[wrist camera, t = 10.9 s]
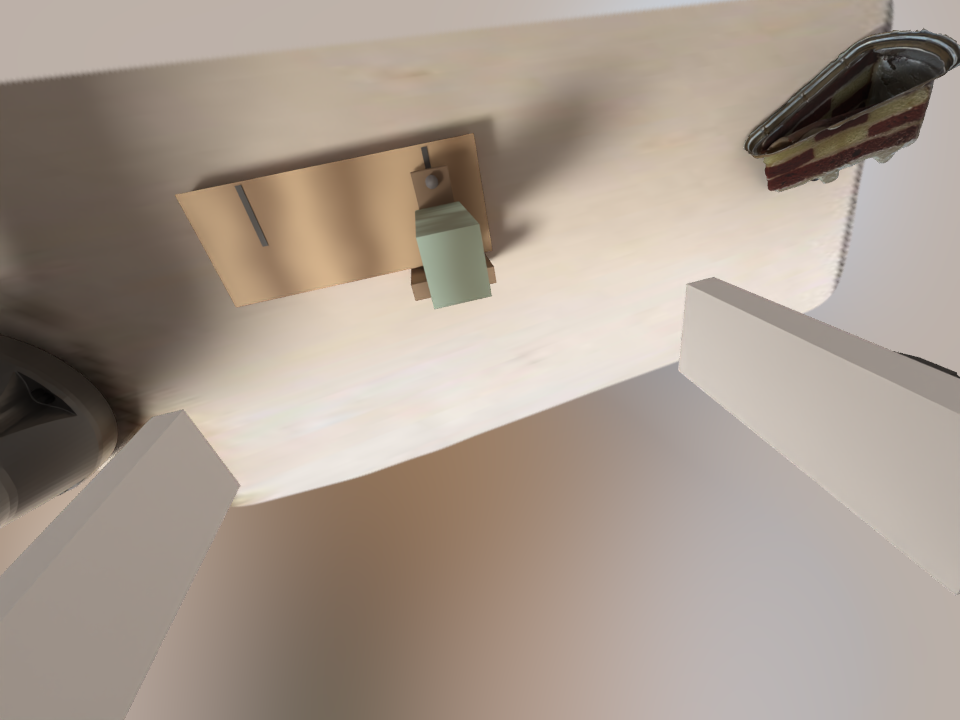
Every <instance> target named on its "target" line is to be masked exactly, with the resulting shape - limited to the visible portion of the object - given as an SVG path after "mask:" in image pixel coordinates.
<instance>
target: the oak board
mask: <svg viewBox="0 0 960 720" xmlns="http://www.w3.org/2000/svg"><path fill="white" fill-rule="evenodd" d="M442 165H446V166H447V167H448V172H449V177H450V182H451V188H452V193H453V198H454V202H458V201H459V202H460V203H461V204H462V205H463V206H464V208H465V209H466V210H467V211H468V212H469V213H470V214H471V215H472V216H473V217H474V219H475V220H476V221H477V222H478V223H479V225H480V231H481V236H482V242H483V248H484V252H488V251H492V245H491V239H490V232H489V226H488V220H487V214H486V207H485V201H484V195H483V189H482V182H481V176H480V170H479V164H478V158H477V151H476V145H475V139H474V133H471V134H467V135H462V136H457V137H452V138H447V139H442V140H438V141H433V142H428V143H423V144H418V145H413V146H409V147H404V148H399V149H394V150H389V151H384V152H380V153H375V154H370V155H365V156H360V157H355V158H351V159H346V160H341V161H336V162H331V163H326V164H322V165H317V166H312V167H307V168H302V169H297V170H293V171H288V172H283V173H278V174H273V175H268V176H264V177H259V178H254V179H249V180H244V181H240V182H235V183H230V184H225V185H220V186H215V187H211V188H206V189H201V190H196V191H191V192H186V193H182V194H177V195H175V196H176V198H177V200H178V202H179V204H180V205H181V207H182V209H183V211H184V213H185V215H186V216H187V218H188V220H189V222H190V224H191V226H192V227H193V229H194V231H195V233H196V235H197V237H198V238H199V240H200V242H201V244H202V246H203V248H204V249H205V251H206V253H207V255H208V257H209V259H210V260H211V262H212V264H213V266H214V268H215V270H216V271H217V273H218V275H219V277H220V279H221V281H222V282H223V284H224V286H225V288H226V290H227V292H228V293H229V295H230V297H231V299H232V301H233V303H234V304H235V306H236V307H241V306H245V305H250V304H254V303H259V302H263V301H268V300H272V299H277V298H281V297H286V296H290V295H295V294H299V293H304V292H308V291H313V290H317V289H322V288H326V287H331V286H335V285H340V284H344V283H349V282H353V281H358V280H362V279H367V278H371V277H376V276H380V275H384V274H389V273H393V272H398V271H402V270H407V269H411V268H416V267H420V266H423V263H422V259H421V255H420V251H419V247H418V244H417V240H416V225H415V211H416V210H419V206H418V202H417V198H416V194H415V190H414V186H413V182H412V178H411V174H410V173H411V172H413V171H418V170H423V169H428V168H432V167H437V166H442Z"/></svg>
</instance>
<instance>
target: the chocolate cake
mask: <svg viewBox="0 0 960 720" xmlns="http://www.w3.org/2000/svg"><path fill="white" fill-rule="evenodd" d="M956 42H957V41H955V40H953V39H952V38H950V37H948V36H947V35H942V34H939V35H937V34H934V33H932V32H929V31H927V30H925V29H922V31H918V30H916V31H915V32H912V31H910V30H909V31H897V30H893V31H891V32H885V33H882V34H880V33H879V34H874V35H870V36H868V38H866V39H862V41H858V42H857V43H855V44H854V45H853V46H852V47H850V48H849V49H848V50H847V51H846V52H844V53H843V54H842V53H841V54H840V55H839V56H838V57H839V59H837V61H835V62H834V63H831V64H830V65H829V66H828V67H827V68H826V69H825V70H823V71H822V72H821V73H820V74H819V75H818V76H817V77H816V78H815V79H814V80H812V81H811V83H810V84H808V85H806V86H805V87H804V88H803V89H802V90H801V91H800V92H798V93H797V94H796V96H795V97H794V96H793V97H792V98H791V99H790V100H789V101H788V103H787V104H786V105H785V106H784V107H783V108H781V109H780V111H777V113H775V114H774V115H773V116H771V117H770V119H769V120H768V121H766V122H765V123H764V124H762V125H761V126H760V127H759V128H757V130H755V131H754V132H752V133H751V134H750V135H749V136H748V137H749V138H748V139H747V140H745V144H744V146H743V147H744V148H743V149H745V150H746V151H748V153H749V154H751V155H752V156H753V157H755V158H764V161H763V162H764V163H765V164H766V168H765V174H766V176H767V181H768V189H769V190H770V191H777V192H781V191H784V190H787V189H791V188H794V187H797V186H800V185H803V184H805V183H807V182H809V181H816V180H818V179H820V180H821V181H822V182H823V183H824V184H825V183H829V182H832V181H834V180H835V179H837V178H838V175H839V170H841V169H844V168H846V167H850V166H853V165H855V164H857V163H859V162H861V161H863V160H865V159H868V158H874V159H875V160H877V162H878V163H885V162H887V161H888V160H889V159H890V158H892V156H893V155H894V154H895V152H897V151H898V150H900V149H901V148H904V147H907V146H909V145H911V144H913V143H914V142H915V141H916V140H917V138H918V136H919V132H920V128H921V126H922V123H923V120H924V116H925V112H926V109H927V107H928V103H929V99H930V95H931V92H932V88H933V82H934V79H936V78H939V77H941V76H943V75H945V74H946V73H947V72H948V71H950V70H952V69H953V68H955V67H957V66H959V65H960V45H958V44H957V43H956Z"/></svg>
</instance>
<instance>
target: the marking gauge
mask: <svg viewBox="0 0 960 720" xmlns="http://www.w3.org/2000/svg"><path fill="white" fill-rule="evenodd" d="M410 174H411V178H412V182H413V186H414V190H415V194H416V198H417V202H418V206H419V210H416V211H415V225H416V240H417V244H418V247H419V251H420V255H421V259H422V263H423V266H420V267H416V268H411V286H412V290H413V293H414V297H415V300H416V301H418V300H422V299H426V298H432V302H433V305H434V309H438V308H442V307H447V306H451V305H455V304H460V303H464V302H469V301H473V300H477V299H482V298H486V297H490V296H492V295H491V289H490V284H493V283H496V277H495V271H494V266H493V265H492V263H491V262H490V260H489V259H488V258H487V256H486V255H485V253H484V248H483V242H482V236H481V231H480V225H479V223H478V222H477V221H476V220H475V219H474V217H473V216H472V215H471V214H470V213H469V212H468V211H467V210H466V209H465V208H464V206H463V205H462V204H461V203H460V202H459V201H458V202H454V198H453V193H452V188H451V182H450V177H449V172H448V167H447V166H446V165H442V166H437V167H432V168H428V169H423V170H418V171H413V172H411V173H410Z"/></svg>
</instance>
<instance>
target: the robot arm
mask: <svg viewBox="0 0 960 720" xmlns="http://www.w3.org/2000/svg"><path fill="white" fill-rule="evenodd" d="M678 371H679V372H681V373H682V374H683V375H684V376H686V377H687V378H688V379H689V380H690V381H692V382H693V383H694V384H695V385H697V386H698V387H699V388H700V389H701V390H703V391H704V392H705V393H706V394H708V395H709V396H710V397H711V398H713V399H714V400H715V401H716V402H718V403H719V404H720V405H721V406H723V407H724V408H725V409H726V410H727V411H729V412H730V413H731V414H732V415H734V416H735V417H736V418H737V419H738V420H740V421H741V422H742V423H743V424H745V425H746V426H747V427H748V428H750V429H751V430H752V431H753V432H755V433H756V434H757V435H758V436H759V437H761V438H762V439H763V440H764V441H766V442H767V443H768V444H769V445H771V446H772V447H773V448H774V449H775V450H777V451H778V452H779V453H780V454H782V455H783V456H784V457H785V458H787V459H788V460H789V461H790V462H791V463H793V464H794V465H795V466H796V467H798V468H799V469H800V470H801V471H803V472H804V473H805V474H806V475H807V476H809V477H810V478H811V479H812V480H814V481H815V482H816V483H817V484H819V485H820V486H821V487H822V488H823V489H825V490H826V491H827V492H829V493H830V494H831V495H832V496H833V497H835V498H836V499H837V500H838V501H839V502H841V503H842V504H843V505H844V506H846V507H847V508H848V509H849V510H851V511H852V512H853V513H854V514H856V515H857V516H858V517H859V518H860V519H862V520H863V521H864V522H865V523H867V524H868V525H869V526H870V527H871V528H873V529H874V530H875V531H876V532H878V533H879V534H880V535H881V536H883V537H884V538H885V539H886V540H888V541H889V542H890V543H891V544H893V545H894V546H895V547H896V548H897V549H899V550H900V551H901V552H902V553H904V554H905V555H906V556H907V557H908V558H910V559H911V560H912V561H913V562H915V563H916V564H917V565H918V566H920V567H921V568H922V569H923V570H924V571H926V572H927V573H928V574H929V575H931V576H932V577H933V578H934V579H936V580H937V581H938V582H939V583H941V584H942V585H943V586H944V587H946V588H947V589H948V590H949V591H950V592H952V593H953V594H954V595H958V594H960V377H959V376H958V375H957V372H954V371H952V370H949V369H946V368H944V367H942V366H939V365H937V364H934V363H932V362H929V361H926V360H924V359H922V358H919V357H915V356H911V355H907V354H903V353H898V352H895V351H891V350H889V349H887V348H884V347H882V346H879V345H877V344H874V343H872V342H869V341H867V340H864V339H862V338H859V337H858V336H855V335H852V334H850V333H848V332H845V331H843V330H841V329H838V328H836V327H833V326H831V325H828V324H826V323H824V322H821V321H819V320H816V319H814V318H812V317H809V316H807V315H804V314H802V313H799V312H797V311H795V310H792V309H790V308H787V307H785V306H783V305H780V304H778V303H775V302H773V301H770V300H768V299H766V298H763V297H761V296H758V295H756V294H753V293H751V292H749V291H746V290H744V289H741V288H739V287H737V286H734V285H732V284H729V283H727V282H724V281H722V280H720V279H717V278H715V277H712V278H708V279H704V280H700V281H696V282H692V283H688V284H687V285H686V296H685V306H684V317H683V327H682V337H681V348H680V358H679V369H678ZM117 437H118V429H117V423H116V419H115V416H114V414H113V411H112V409H111V407H110V406H109V404H108V402H107V401H106V399H105V398H104V397H103V395H102V394H101V393H100V392H99V390H98V389H97V388H96V387H95V386H94V385H93V384H92V383H91V382H90V381H89V380H88V379H86V378H85V377H84V376H83V375H82V374H80V373H79V372H78V371H77V370H75V369H74V368H72V367H71V366H70V365H68V364H66V363H65V362H63V361H62V360H60V359H58V358H56V357H55V356H53V355H51V354H49V353H47V352H45V351H43V350H41V349H39V348H36V347H34V346H32V345H29V344H27V343H24V342H21V341H18V340H16V339H12V338H9V337H6V336H2V335H0V528H2V527H4V526H5V525H7V524H9V523H11V522H12V521H14V520H16V519H18V518H20V517H21V516H23V515H25V514H26V513H28V512H30V511H32V510H34V509H36V508H37V507H39V506H41V505H42V504H44V503H46V502H48V501H49V500H51V499H53V498H54V497H56V496H58V495H61V494H63V493H65V492H67V491H69V490H71V489H73V488H75V487H77V486H78V485H80V484H81V483H83V482H84V481H85V480H87V479H88V478H89V477H90V476H91V475H92V474H93V473H94V472H95V471H96V470H97V469H98V468H99V467H100V466H101V465H102V464H103V463H104V462H105V461H106V460H107V459H108V458H109V457H110V455H111V454H112V452H113V451H114V449H115V446H116V443H117ZM239 487H240V484H239V483H238V481H237V480H236V479H235V477H234V476H233V475H232V473H231V472H230V471H229V469H228V468H227V467H226V465H225V464H224V463H223V461H222V460H221V459H220V457H219V456H218V455H217V453H216V452H215V451H214V449H213V448H212V447H211V445H210V444H209V443H208V441H207V440H206V439H205V437H204V436H203V435H202V433H201V432H200V431H199V429H198V428H197V427H196V425H195V424H194V423H193V421H192V420H191V419H190V417H189V416H188V415H187V413H186V412H185V411H184V409H183V410H179V411H175V412H171V413H167V414H163V415H159V416H155V417H151V419H150V420H149V421H148V422H147V423H146V424H145V425H144V426H143V427H142V428H141V429H140V430H139V431H138V432H137V433H136V434H135V435H134V436H133V437H132V438H131V440H130V441H129V442H128V443H127V444H126V445H125V446H124V447H123V448H122V449H121V450H120V451H119V452H118V453H117V454H116V455H115V456H114V457H113V458H112V459H111V460H110V462H109V463H108V464H107V465H106V466H105V467H104V468H103V469H102V470H101V471H100V472H99V473H98V474H97V475H96V476H95V478H93V479H92V480H91V481H90V482H89V484H88V485H87V486H86V487H85V488H84V489H83V490H82V491H81V492H80V493H79V494H78V495H77V496H76V497H75V498H74V499H73V500H72V501H71V503H69V505H68V506H67V507H66V508H65V509H64V510H63V511H62V512H61V513H60V514H59V515H58V516H57V517H56V518H55V519H54V520H53V521H52V522H51V523H50V525H48V527H47V528H46V529H45V530H44V531H43V532H42V533H41V534H40V535H39V536H38V537H37V538H36V539H35V540H34V541H33V542H32V543H31V544H30V545H29V546H28V548H27V549H26V550H25V551H24V552H23V553H22V554H21V555H20V556H19V557H18V558H17V559H16V560H15V561H14V562H13V563H12V564H11V565H10V566H9V567H8V568H7V570H6V571H5V572H4V573H3V574H2V575H1V576H0V720H124V719H125V717H126V715H127V713H128V711H129V709H130V707H131V705H132V703H133V701H134V699H135V697H136V695H137V693H138V691H139V689H140V687H141V685H142V683H143V681H144V679H145V677H146V675H147V673H148V671H149V669H150V666H151V665H152V663H153V661H154V659H155V656H156V655H157V653H158V650H159V648H160V646H161V644H162V642H163V640H164V638H165V636H166V634H167V632H168V630H169V628H170V626H171V624H172V622H173V620H174V618H175V616H176V614H177V612H178V610H179V608H180V606H181V604H182V602H183V600H184V598H185V596H186V594H187V592H188V590H189V588H190V586H191V584H192V582H193V580H194V578H195V576H196V574H197V572H198V570H199V568H200V566H201V564H202V562H203V560H204V558H205V556H206V554H207V552H208V550H209V548H210V545H211V544H212V542H213V540H214V538H215V536H216V533H217V531H218V529H219V527H220V525H221V523H222V521H223V519H224V517H225V515H226V513H227V511H228V509H229V507H230V505H231V503H232V501H233V499H234V497H235V495H236V493H237V491H238V489H239Z"/></svg>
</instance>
